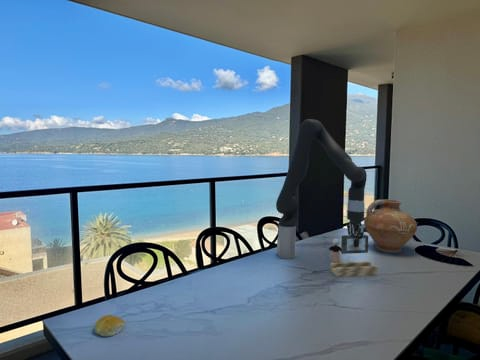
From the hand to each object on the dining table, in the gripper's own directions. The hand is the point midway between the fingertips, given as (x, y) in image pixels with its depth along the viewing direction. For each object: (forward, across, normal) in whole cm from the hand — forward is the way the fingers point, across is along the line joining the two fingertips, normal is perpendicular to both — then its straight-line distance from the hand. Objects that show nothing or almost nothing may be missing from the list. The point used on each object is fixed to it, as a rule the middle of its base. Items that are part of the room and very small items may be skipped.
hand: (354, 245), depth 150 cm
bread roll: (+13, +37, -101) cm, 108 cm away
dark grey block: (+3, 0, 0) cm, 3 cm away
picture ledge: (+13, 0, 0) cm, 13 cm away
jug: (+13, -32, +38) cm, 52 cm away
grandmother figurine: (+13, -14, -3) cm, 20 cm away
